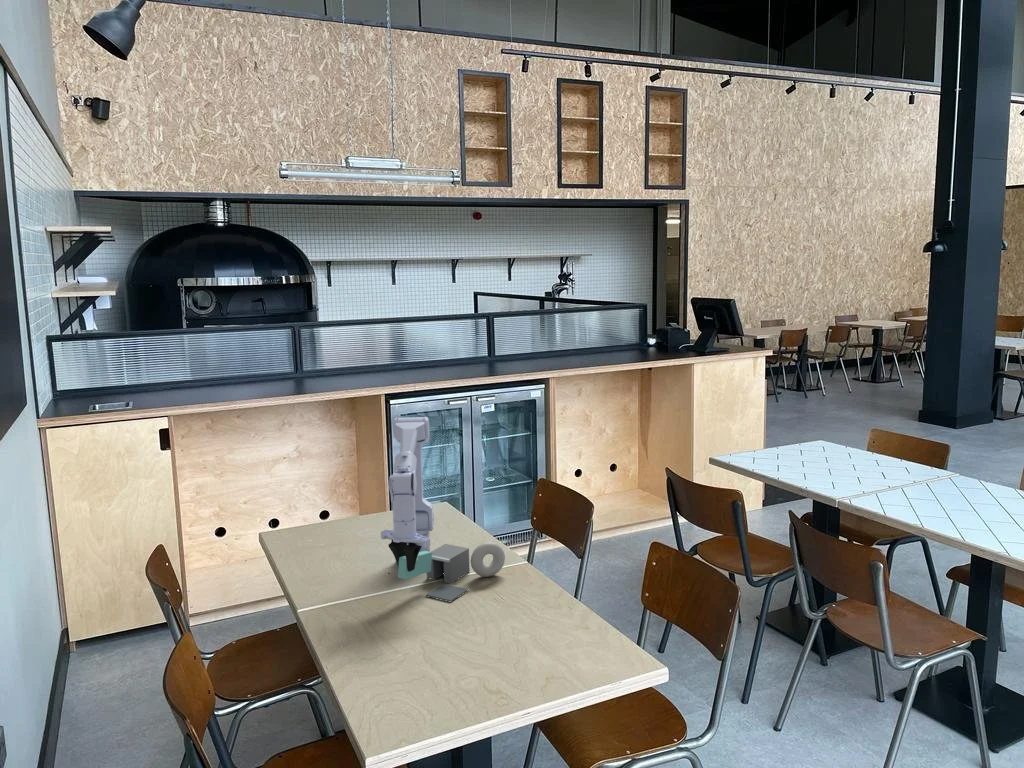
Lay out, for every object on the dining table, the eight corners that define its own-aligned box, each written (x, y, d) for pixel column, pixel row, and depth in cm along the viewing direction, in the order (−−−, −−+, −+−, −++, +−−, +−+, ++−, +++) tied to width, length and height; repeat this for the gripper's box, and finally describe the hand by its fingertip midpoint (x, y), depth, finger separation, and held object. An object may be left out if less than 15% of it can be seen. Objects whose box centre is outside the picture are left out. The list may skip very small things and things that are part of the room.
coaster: (425, 596, 200) (425, 594, 200) (443, 585, 207) (443, 583, 207) (451, 602, 196) (450, 600, 196) (468, 591, 203) (468, 589, 203)
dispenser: (425, 579, 212) (424, 555, 211) (446, 567, 220) (445, 543, 219) (449, 584, 208) (448, 560, 207) (469, 572, 216) (468, 548, 215)
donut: (473, 581, 209) (472, 546, 208) (469, 577, 212) (468, 542, 211) (507, 575, 213) (506, 541, 212) (502, 571, 216) (502, 537, 215)
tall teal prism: (397, 577, 196) (399, 557, 196) (423, 569, 206) (424, 550, 206) (405, 579, 195) (406, 558, 195) (430, 571, 205) (432, 552, 205)
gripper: (372, 518, 196) (374, 569, 198) (417, 527, 188) (419, 579, 190) (389, 511, 202) (392, 560, 204) (434, 519, 194) (436, 570, 196)
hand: (406, 569), depth 197 cm, fingers closed on tall teal prism, 2 cm apart
